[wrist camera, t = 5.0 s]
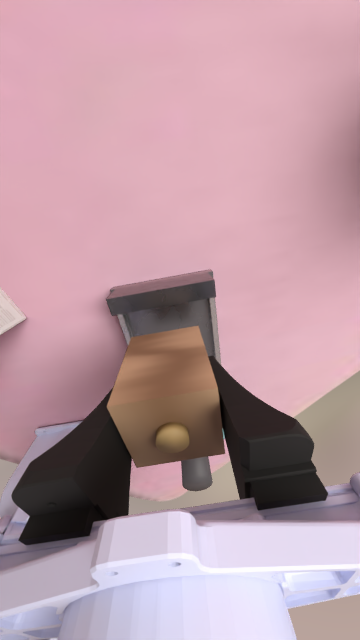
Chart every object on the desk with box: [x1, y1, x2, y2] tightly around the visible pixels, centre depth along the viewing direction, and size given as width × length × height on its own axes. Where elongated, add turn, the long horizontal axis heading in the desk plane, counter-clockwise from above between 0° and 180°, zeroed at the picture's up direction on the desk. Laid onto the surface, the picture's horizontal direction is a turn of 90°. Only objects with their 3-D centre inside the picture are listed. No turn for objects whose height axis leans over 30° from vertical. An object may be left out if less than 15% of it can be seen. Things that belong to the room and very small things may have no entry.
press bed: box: [106, 269, 221, 365], centre depth 22 cm, size 10×22×4 cm, turn 10°
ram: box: [181, 428, 225, 491], centre depth 22 cm, size 8×6×8 cm
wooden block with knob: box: [107, 326, 225, 468], centre depth 12 cm, size 5×5×6 cm
